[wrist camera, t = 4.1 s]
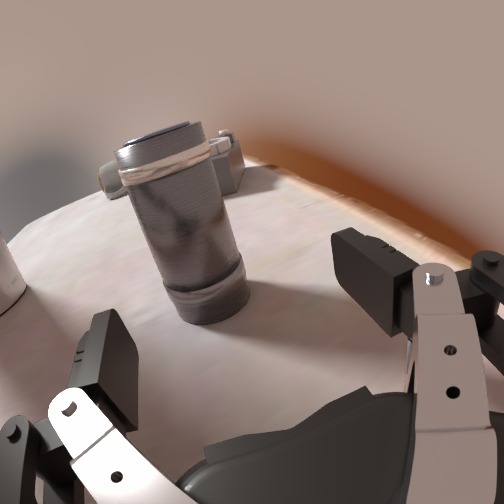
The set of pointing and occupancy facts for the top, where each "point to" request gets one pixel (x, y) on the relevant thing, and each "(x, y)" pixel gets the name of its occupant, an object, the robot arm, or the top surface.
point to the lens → (185, 221)
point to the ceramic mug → (111, 180)
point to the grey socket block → (227, 161)
